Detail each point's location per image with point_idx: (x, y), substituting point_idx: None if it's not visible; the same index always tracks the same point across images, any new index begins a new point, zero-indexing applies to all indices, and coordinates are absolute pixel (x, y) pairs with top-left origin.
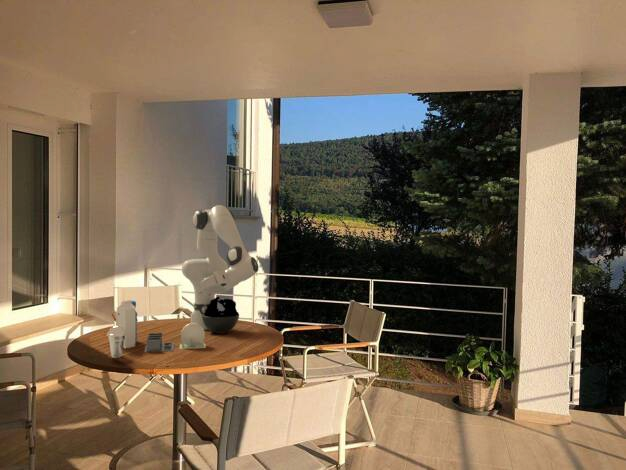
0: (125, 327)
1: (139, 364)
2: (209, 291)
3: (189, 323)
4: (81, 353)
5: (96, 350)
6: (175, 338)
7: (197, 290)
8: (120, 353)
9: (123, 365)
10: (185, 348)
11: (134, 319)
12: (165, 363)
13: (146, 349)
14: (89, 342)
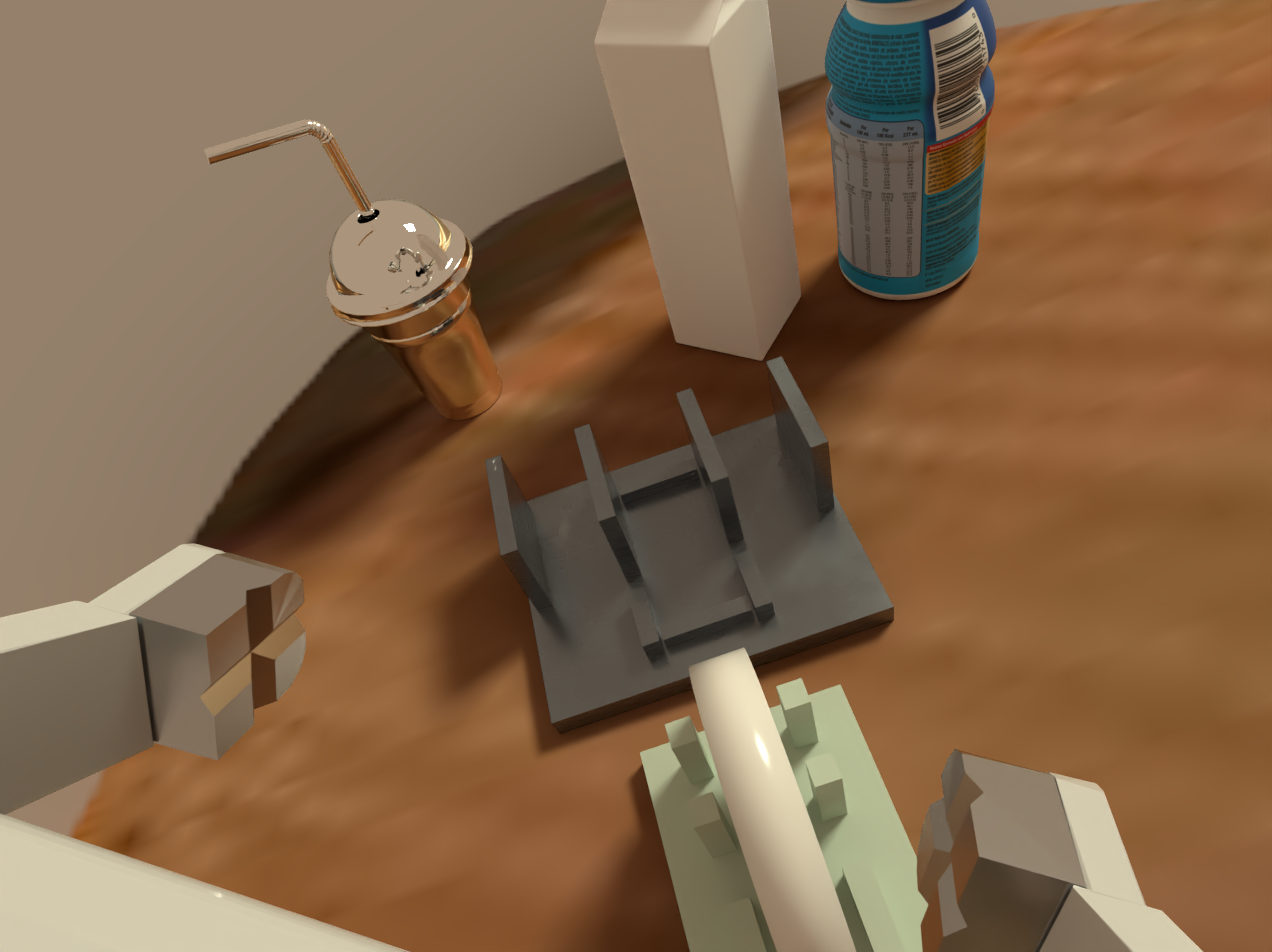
0: (639, 206)
1: None
2: (1057, 886)
3: (758, 702)
4: (546, 221)
5: (619, 240)
6: (1208, 515)
7: (173, 573)
8: (435, 403)
9: (239, 527)
10: (663, 810)
11: (716, 165)
12: (217, 789)
13: (583, 491)
14: (816, 121)
